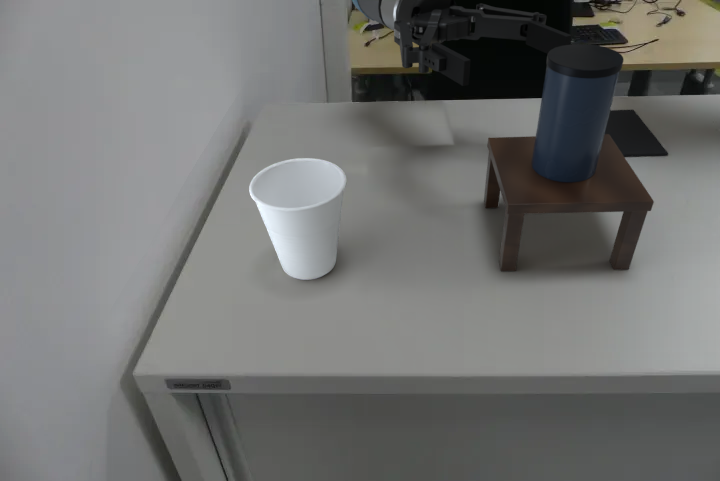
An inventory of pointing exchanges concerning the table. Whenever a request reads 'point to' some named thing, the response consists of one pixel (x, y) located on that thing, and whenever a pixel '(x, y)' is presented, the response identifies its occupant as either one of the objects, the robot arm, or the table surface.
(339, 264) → the table surface
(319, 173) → the cup
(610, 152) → the small brown wooden table
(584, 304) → the table surface
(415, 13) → the robot arm
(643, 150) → the mat
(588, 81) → the blue lidded tin
